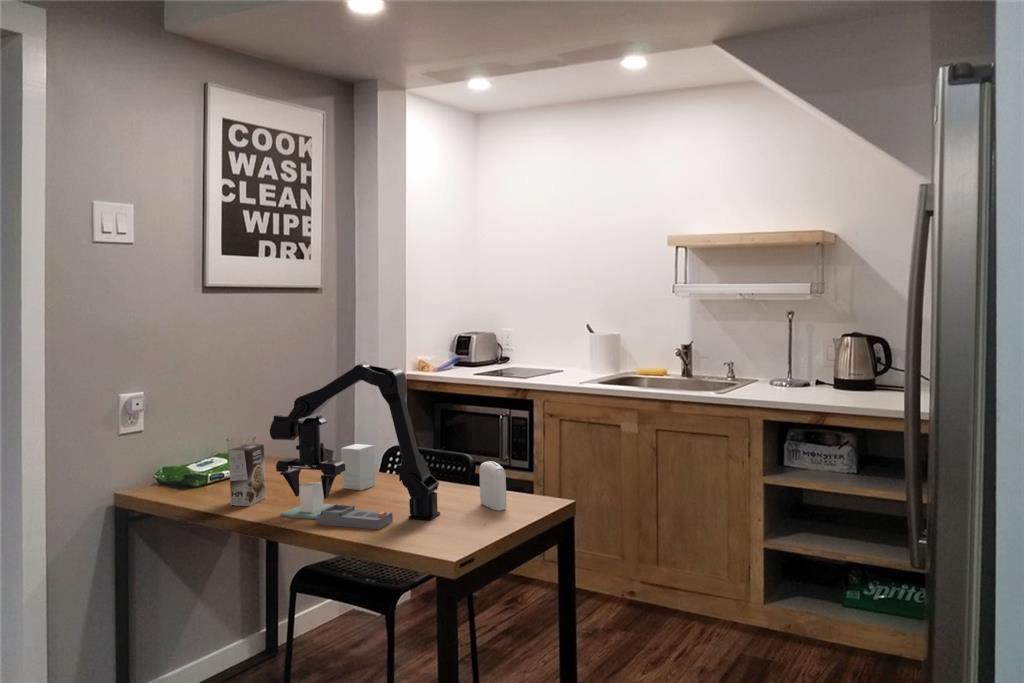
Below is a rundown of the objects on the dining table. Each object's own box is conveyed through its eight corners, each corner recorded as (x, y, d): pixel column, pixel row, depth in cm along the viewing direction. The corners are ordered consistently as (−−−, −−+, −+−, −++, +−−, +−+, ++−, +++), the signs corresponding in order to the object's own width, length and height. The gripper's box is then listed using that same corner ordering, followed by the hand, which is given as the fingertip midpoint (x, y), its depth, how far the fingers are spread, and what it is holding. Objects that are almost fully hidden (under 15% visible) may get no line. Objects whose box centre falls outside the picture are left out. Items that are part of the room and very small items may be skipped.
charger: (323, 507, 221) (322, 482, 221) (313, 512, 216) (312, 486, 216) (311, 506, 222) (310, 481, 222) (300, 511, 218) (299, 485, 217)
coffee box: (251, 506, 226) (248, 450, 225) (230, 506, 228) (227, 449, 227) (267, 498, 235) (264, 443, 234) (247, 497, 237) (244, 443, 236)
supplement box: (376, 485, 248) (375, 445, 247) (360, 491, 241) (358, 449, 241) (358, 483, 251) (356, 443, 251) (341, 488, 245) (340, 447, 244)
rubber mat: (343, 507, 223) (343, 505, 223) (318, 519, 212) (318, 517, 212) (306, 504, 227) (306, 502, 227) (280, 516, 216) (280, 513, 216)
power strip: (392, 521, 208) (392, 508, 208) (378, 529, 202) (378, 516, 201) (332, 516, 214) (332, 503, 214) (317, 523, 208) (316, 510, 208)
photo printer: (478, 503, 224) (477, 459, 223) (492, 501, 226) (491, 457, 225) (494, 512, 215) (493, 466, 214) (508, 509, 217) (507, 464, 216)
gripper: (355, 436, 223) (357, 492, 224) (297, 434, 229) (300, 488, 230) (332, 444, 212) (335, 502, 213) (273, 441, 219) (276, 497, 220)
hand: (311, 497), depth 219 cm, fingers open, 9 cm apart
